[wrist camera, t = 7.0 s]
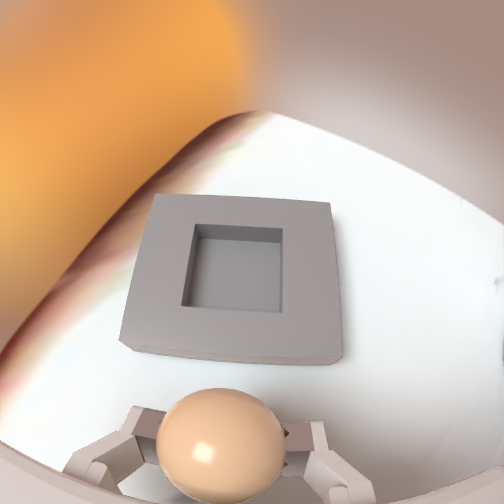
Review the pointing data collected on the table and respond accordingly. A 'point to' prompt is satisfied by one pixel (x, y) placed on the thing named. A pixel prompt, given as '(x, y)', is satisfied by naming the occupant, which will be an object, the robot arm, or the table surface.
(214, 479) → the peach dome-topped peg
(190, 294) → the grey square peg hole
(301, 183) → the table surface
